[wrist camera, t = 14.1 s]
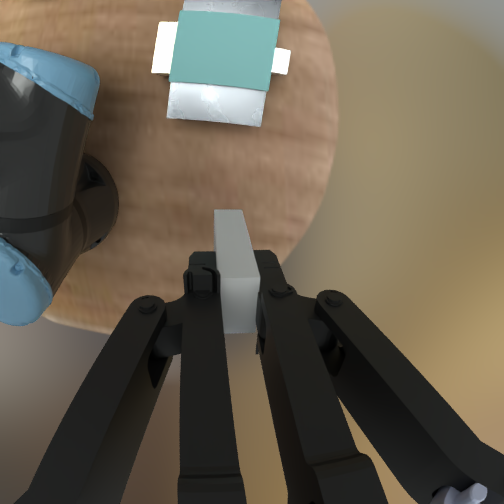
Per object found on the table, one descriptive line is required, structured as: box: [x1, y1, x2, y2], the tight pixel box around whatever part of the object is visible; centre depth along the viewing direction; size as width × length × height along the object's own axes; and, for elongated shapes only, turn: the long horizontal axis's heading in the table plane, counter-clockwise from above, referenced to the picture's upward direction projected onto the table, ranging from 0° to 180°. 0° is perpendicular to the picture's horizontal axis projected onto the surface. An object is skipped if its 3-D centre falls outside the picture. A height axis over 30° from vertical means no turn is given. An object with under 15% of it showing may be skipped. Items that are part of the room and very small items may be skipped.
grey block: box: [167, 0, 282, 127], centre depth 30 cm, size 10×16×8 cm, turn 172°
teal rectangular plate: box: [169, 10, 280, 91], centre depth 26 cm, size 10×8×1 cm
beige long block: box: [152, 22, 291, 76], centre depth 30 cm, size 15×6×6 cm, turn 81°
